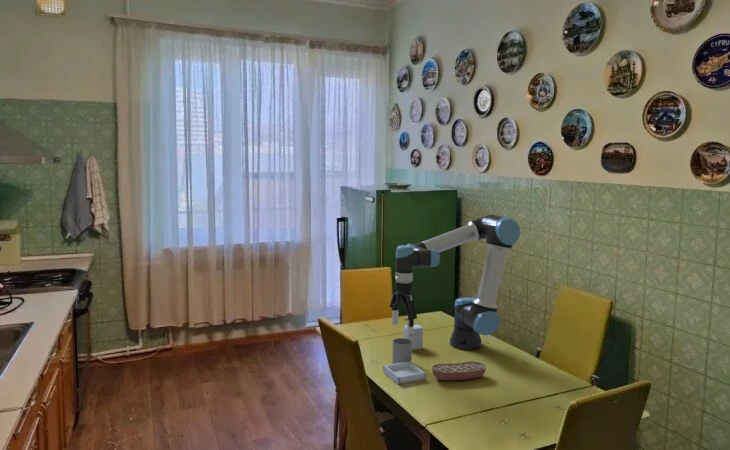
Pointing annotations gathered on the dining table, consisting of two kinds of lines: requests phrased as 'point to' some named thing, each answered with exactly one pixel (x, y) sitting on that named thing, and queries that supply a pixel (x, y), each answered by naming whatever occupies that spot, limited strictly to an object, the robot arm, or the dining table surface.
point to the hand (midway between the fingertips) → (402, 329)
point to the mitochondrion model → (458, 371)
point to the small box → (415, 336)
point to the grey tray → (404, 372)
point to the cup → (401, 350)
